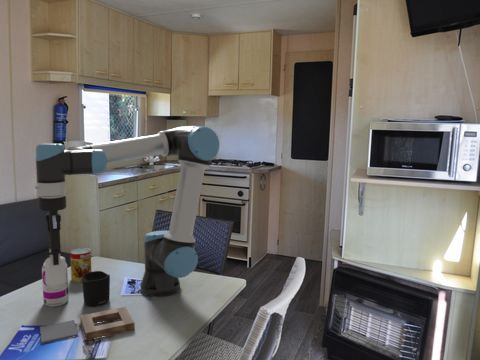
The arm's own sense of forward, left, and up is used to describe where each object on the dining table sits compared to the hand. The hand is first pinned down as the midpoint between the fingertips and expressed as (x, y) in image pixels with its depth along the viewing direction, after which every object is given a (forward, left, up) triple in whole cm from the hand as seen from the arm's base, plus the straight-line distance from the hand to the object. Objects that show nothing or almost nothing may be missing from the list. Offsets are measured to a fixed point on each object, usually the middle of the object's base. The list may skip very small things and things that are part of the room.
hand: (55, 272), depth 122 cm
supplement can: (-1, -23, -20) cm, 30 cm away
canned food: (-12, -43, -20) cm, 49 cm away
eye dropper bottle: (0, 0, -4) cm, 4 cm away
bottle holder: (-14, +3, -19) cm, 24 cm away
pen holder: (-14, -17, -20) cm, 30 cm away
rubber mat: (0, 0, -19) cm, 19 cm away
